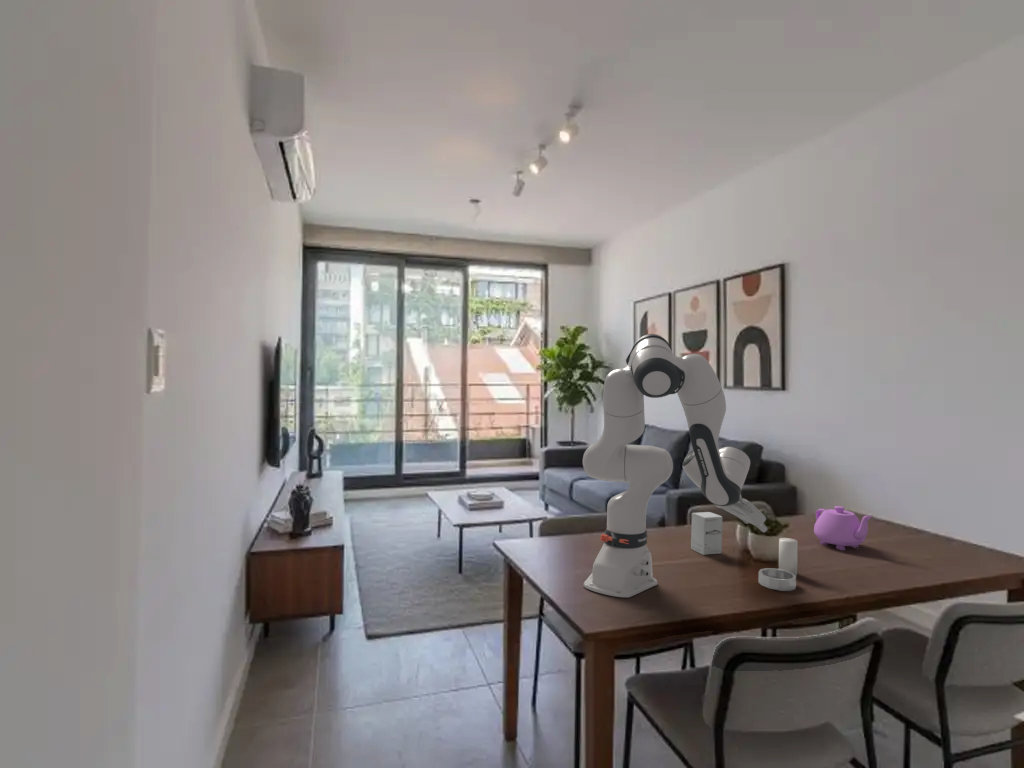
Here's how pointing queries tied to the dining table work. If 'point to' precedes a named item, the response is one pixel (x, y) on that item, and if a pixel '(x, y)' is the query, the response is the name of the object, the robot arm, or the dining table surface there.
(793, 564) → the white cylinder
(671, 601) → the dining table surface
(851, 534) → the teapot
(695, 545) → the supplement box
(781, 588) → the collar
